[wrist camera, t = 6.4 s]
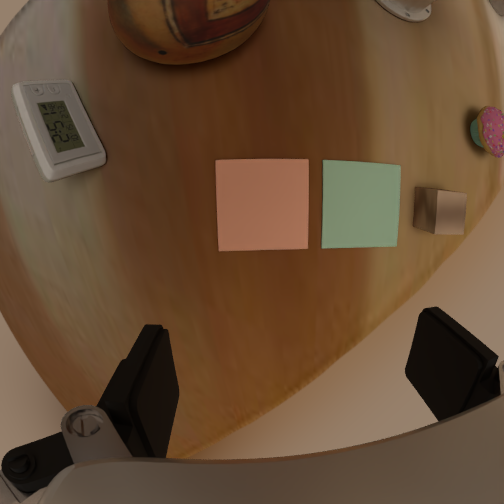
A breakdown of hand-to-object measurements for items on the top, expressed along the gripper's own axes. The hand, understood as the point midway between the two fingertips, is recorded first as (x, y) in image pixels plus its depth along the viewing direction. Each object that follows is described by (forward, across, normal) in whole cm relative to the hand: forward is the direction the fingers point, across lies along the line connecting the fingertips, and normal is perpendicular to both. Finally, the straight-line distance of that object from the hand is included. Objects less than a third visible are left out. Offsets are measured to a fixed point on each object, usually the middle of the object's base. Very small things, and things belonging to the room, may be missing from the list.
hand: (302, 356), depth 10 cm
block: (+30, -27, -2) cm, 41 cm away
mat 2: (+30, -15, -2) cm, 34 cm away
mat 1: (+30, -1, -2) cm, 30 cm away
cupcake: (+31, -39, -16) cm, 52 cm away
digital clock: (+31, +26, -15) cm, 43 cm away
